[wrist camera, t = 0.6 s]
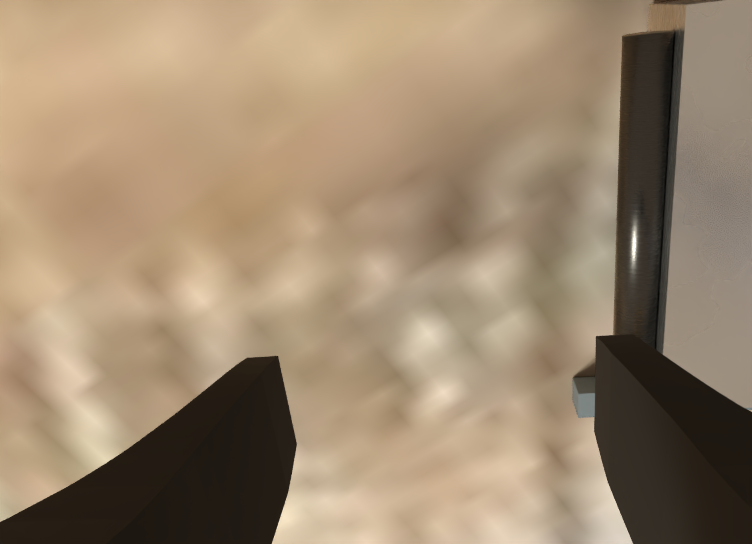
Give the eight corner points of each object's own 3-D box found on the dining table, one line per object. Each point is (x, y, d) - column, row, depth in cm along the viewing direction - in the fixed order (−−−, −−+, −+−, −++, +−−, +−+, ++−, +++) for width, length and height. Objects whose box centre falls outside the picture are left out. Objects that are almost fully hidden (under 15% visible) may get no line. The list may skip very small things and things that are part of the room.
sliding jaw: (765, -11, 17) (824, -13, 14) (723, 358, 21) (762, 406, 19) (604, 10, 17) (633, 11, 15) (597, 365, 22) (618, 413, 19)
